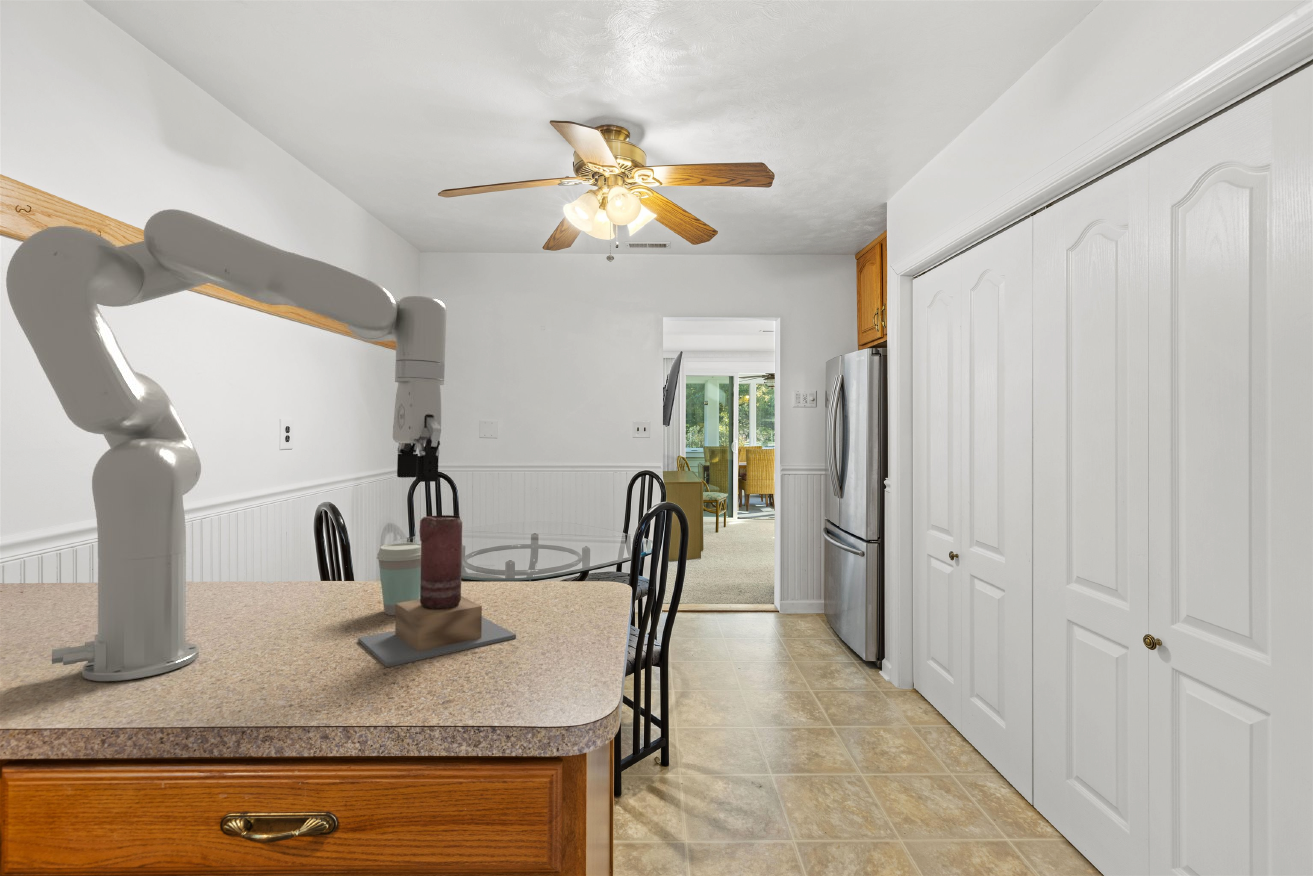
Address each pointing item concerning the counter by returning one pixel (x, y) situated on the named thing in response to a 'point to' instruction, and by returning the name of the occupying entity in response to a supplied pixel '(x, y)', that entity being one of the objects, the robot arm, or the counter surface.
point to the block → (437, 624)
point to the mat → (399, 652)
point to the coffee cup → (399, 573)
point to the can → (440, 561)
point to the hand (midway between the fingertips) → (416, 479)
